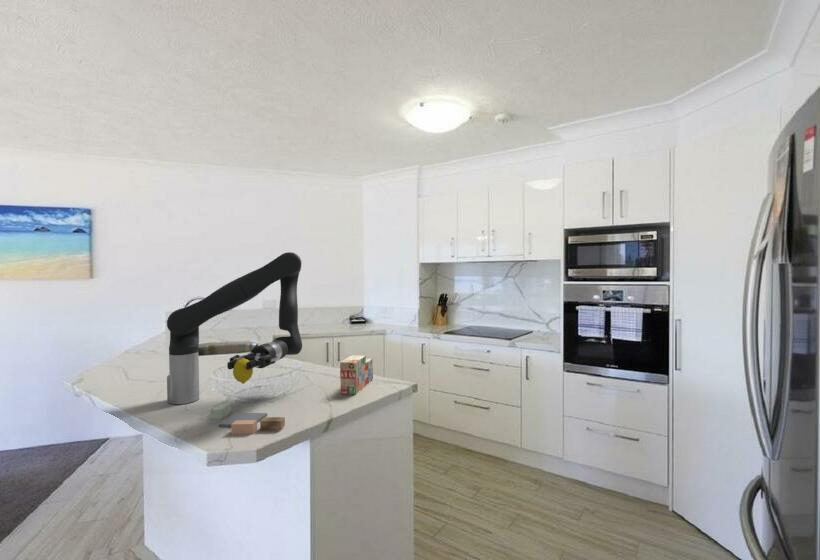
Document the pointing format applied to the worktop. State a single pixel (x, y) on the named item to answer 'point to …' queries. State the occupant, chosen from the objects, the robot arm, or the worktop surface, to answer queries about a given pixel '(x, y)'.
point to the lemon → (242, 371)
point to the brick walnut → (272, 423)
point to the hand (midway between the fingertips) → (238, 366)
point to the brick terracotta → (244, 427)
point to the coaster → (242, 418)
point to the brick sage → (221, 411)
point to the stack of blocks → (355, 374)
